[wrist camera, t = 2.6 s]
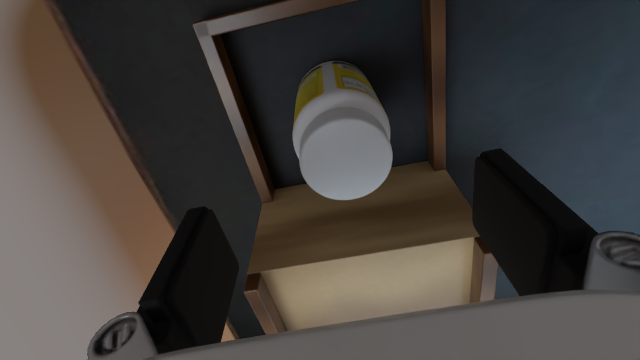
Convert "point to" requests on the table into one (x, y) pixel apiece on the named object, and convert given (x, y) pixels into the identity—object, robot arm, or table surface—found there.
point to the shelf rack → (356, 211)
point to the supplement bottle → (341, 132)
